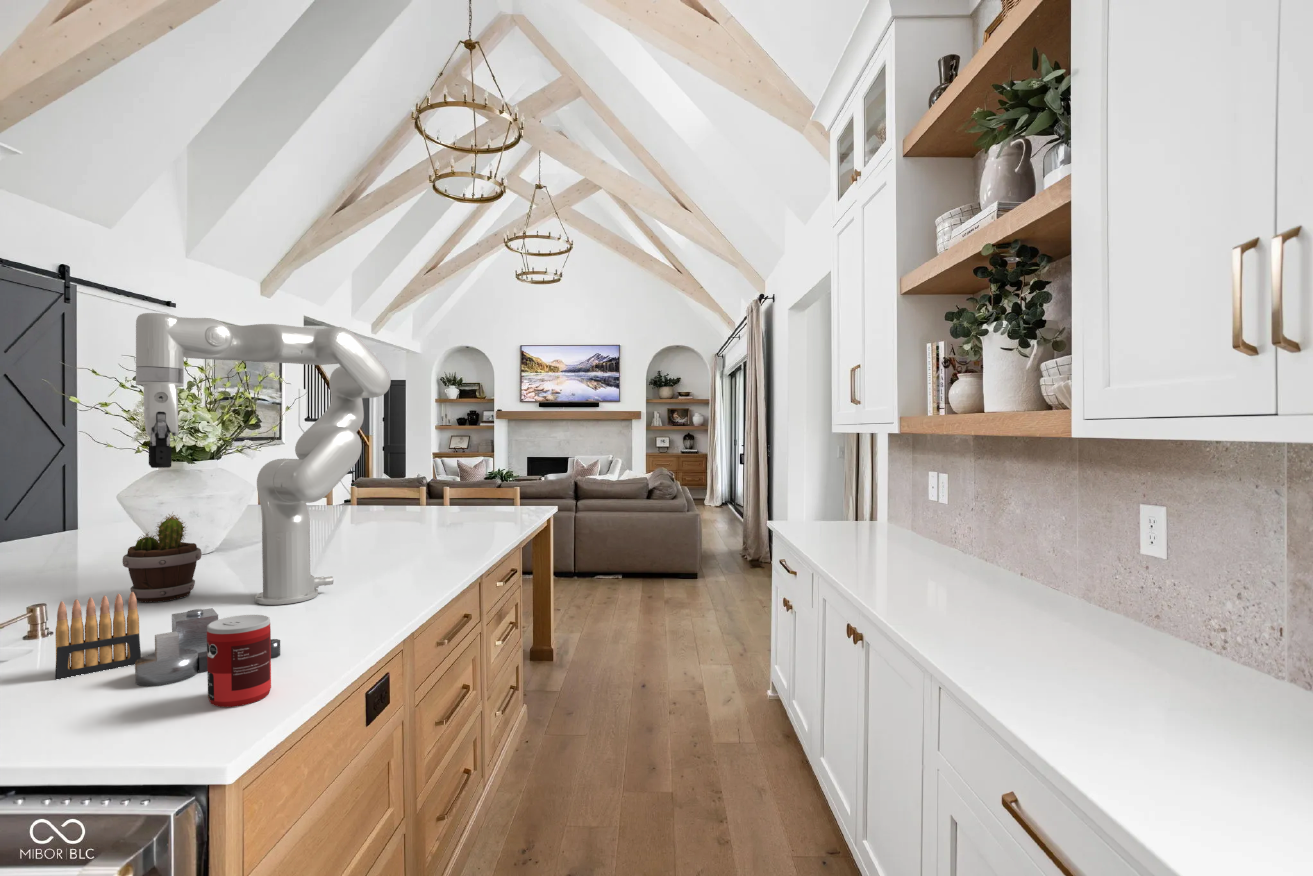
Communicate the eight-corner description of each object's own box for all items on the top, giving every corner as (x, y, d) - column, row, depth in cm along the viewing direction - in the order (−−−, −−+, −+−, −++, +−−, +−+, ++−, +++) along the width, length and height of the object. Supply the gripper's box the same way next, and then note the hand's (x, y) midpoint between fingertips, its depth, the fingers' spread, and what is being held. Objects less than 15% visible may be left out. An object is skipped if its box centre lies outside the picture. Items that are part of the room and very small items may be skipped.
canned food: (225, 688, 102) (224, 614, 102) (281, 686, 103) (280, 613, 103) (195, 709, 95) (194, 630, 95) (256, 707, 95) (254, 628, 95)
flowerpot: (109, 600, 154) (107, 511, 153) (185, 586, 167) (183, 504, 166) (138, 609, 146) (137, 516, 146) (216, 594, 159) (214, 508, 159)
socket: (213, 644, 123) (212, 604, 123) (218, 652, 118) (218, 611, 118) (172, 651, 119) (171, 610, 119) (176, 660, 115) (175, 618, 114)
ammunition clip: (55, 680, 106) (53, 603, 106) (55, 677, 107) (53, 601, 107) (141, 663, 113) (140, 591, 113) (140, 661, 115) (138, 589, 114)
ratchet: (274, 648, 121) (274, 611, 120) (285, 660, 114) (285, 621, 114) (133, 675, 108) (132, 634, 107) (137, 690, 102) (136, 646, 101)
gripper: (186, 376, 128) (186, 468, 128) (180, 381, 142) (180, 464, 142) (136, 374, 124) (136, 469, 124) (134, 379, 137) (134, 465, 137)
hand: (159, 466), depth 133 cm, fingers open, 9 cm apart
